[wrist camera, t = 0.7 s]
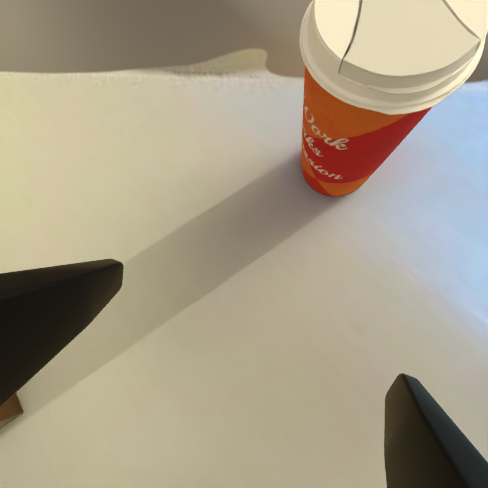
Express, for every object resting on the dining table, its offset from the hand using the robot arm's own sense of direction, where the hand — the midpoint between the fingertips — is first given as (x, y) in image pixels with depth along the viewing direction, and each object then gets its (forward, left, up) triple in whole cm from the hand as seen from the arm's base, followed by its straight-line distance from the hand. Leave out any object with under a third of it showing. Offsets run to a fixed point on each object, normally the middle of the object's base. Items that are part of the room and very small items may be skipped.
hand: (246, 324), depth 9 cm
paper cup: (+12, -7, -15) cm, 20 cm away
